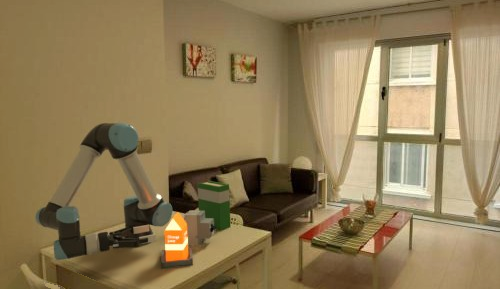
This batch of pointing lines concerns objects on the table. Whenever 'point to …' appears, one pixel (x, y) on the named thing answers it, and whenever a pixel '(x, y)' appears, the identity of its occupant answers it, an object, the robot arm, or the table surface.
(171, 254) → the juice carton
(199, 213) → the circuit breaker
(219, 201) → the green box
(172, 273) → the table surface
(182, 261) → the tray
